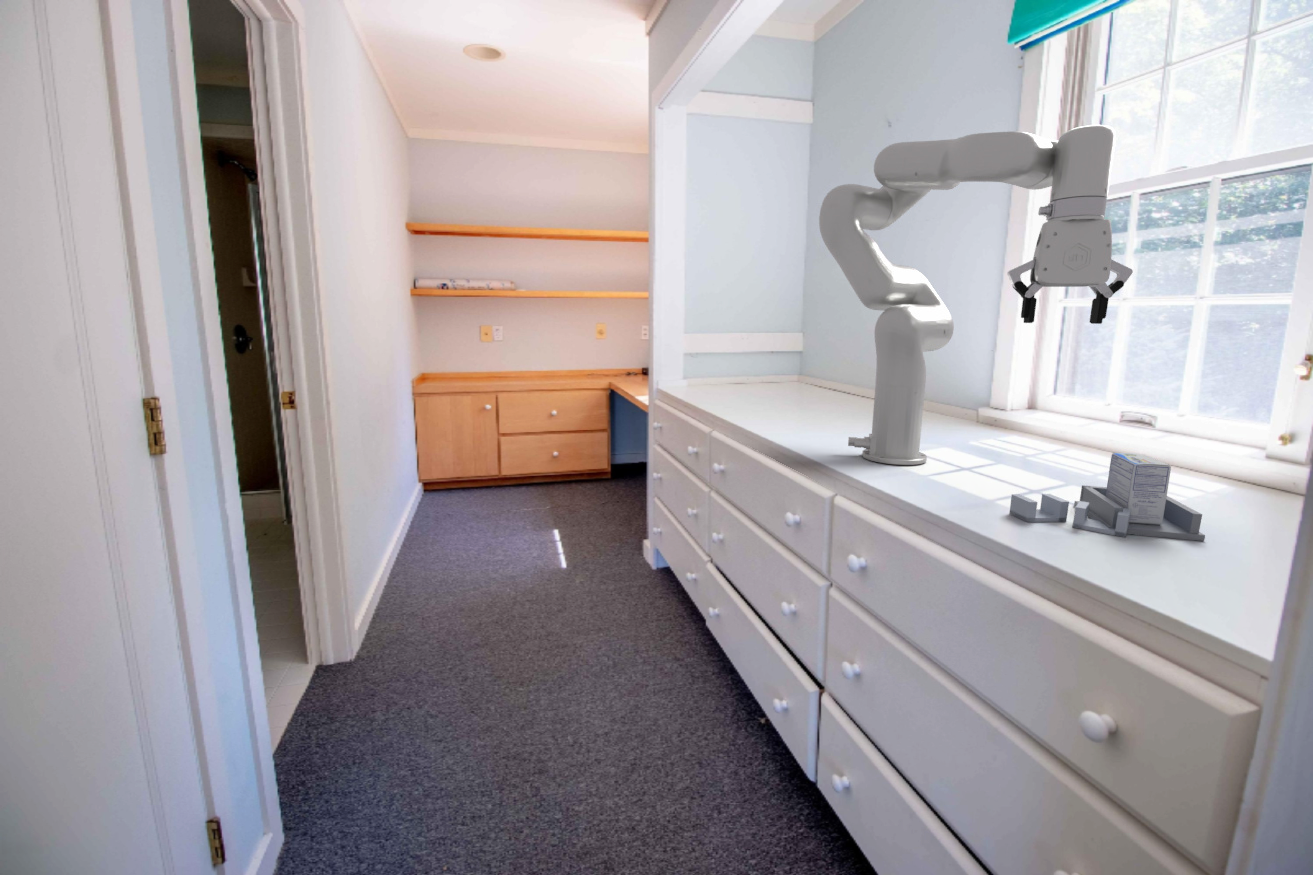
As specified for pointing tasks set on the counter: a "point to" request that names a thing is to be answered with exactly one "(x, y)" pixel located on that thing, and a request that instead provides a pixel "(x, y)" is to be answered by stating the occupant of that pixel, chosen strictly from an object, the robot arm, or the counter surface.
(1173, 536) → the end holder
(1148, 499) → the medicine box
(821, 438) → the counter surface
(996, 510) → the counter surface
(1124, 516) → the clip
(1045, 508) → the clip
